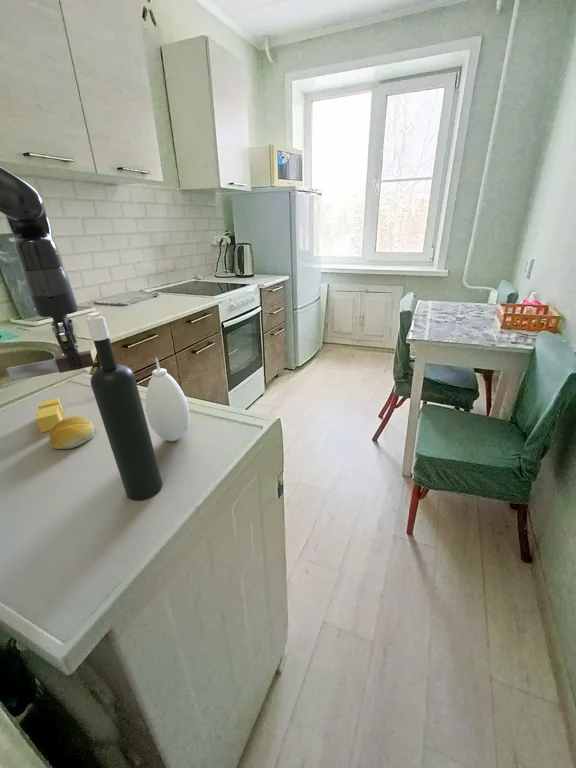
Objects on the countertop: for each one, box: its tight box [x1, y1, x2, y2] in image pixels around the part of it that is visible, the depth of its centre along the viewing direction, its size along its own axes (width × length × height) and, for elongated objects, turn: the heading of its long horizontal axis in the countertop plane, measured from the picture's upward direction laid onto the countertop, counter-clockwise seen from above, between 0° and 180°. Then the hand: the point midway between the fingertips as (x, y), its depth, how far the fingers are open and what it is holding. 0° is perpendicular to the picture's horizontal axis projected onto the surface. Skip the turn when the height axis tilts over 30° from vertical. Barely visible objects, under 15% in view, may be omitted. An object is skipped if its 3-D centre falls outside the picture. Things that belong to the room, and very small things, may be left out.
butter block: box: [35, 405, 64, 433], centre depth 79 cm, size 5×4×4 cm
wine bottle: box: [84, 311, 163, 502], centre depth 53 cm, size 6×6×30 cm
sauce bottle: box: [145, 357, 191, 442], centre depth 69 cm, size 8×8×18 cm
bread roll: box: [49, 416, 96, 450], centre depth 74 cm, size 8×9×4 cm
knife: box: [6, 350, 95, 382], centre depth 79 cm, size 16×2×3 cm, turn 119°
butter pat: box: [37, 397, 64, 416], centre depth 83 cm, size 2×4×4 cm, turn 118°
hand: (76, 366), depth 81 cm, fingers closed on knife, 2 cm apart
